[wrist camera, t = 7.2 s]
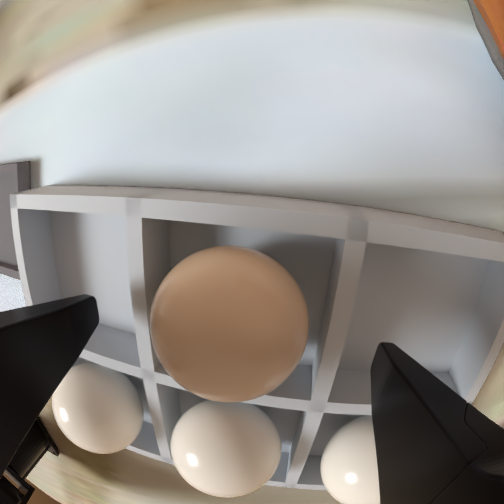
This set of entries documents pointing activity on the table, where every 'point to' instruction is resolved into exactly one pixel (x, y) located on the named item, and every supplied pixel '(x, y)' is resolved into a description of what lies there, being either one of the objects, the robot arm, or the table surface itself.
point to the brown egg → (229, 323)
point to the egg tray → (305, 274)
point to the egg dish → (4, 183)
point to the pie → (491, 28)
